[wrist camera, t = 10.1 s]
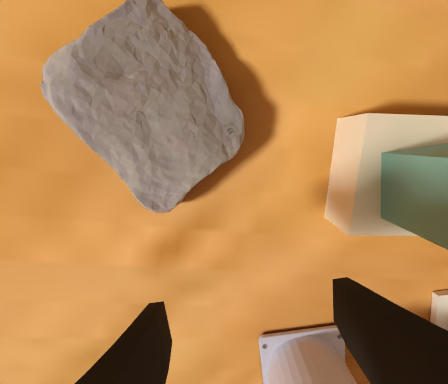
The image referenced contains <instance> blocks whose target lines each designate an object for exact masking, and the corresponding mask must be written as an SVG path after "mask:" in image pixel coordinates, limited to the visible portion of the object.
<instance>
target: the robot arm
mask: <svg viewBox="0 0 448 384" xmlns="http://www.w3.org/2000/svg"><path fill="white" fill-rule="evenodd" d="M333 311H334V322H335V324H336V325H332V326H324V327H317V328H309V329H302V330H294V331H287V332H279V333H271V334H264V335H261V336H260V337H259V347H260V356H261V365H262V374H263V383H264V384H357V383H356V381H355V379H354V378H353V376H352V374H351V372H350V371H349V369H348V367H347V365H346V364H345V344H346V346H347V347H348V349H349V350H350V352H351V354H352V355H353V357H354V358H355V360H356V361H357V363H358V365H359V366H360V368H361V369H362V371H363V372H364V374H365V375H366V377H367V378H368V380H369V381H370V383H371V384H448V330H446V329H444V328H441V327H439V326H437V325H435V324H433V323H431V322H429V321H427V320H425V319H423V318H421V317H419V316H417V315H415V314H413V313H411V312H410V311H408V310H406V309H404V308H402V307H400V306H398V305H396V304H395V303H393V302H391V301H389V300H387V299H386V298H384V297H382V296H380V295H378V294H377V293H375V292H373V291H371V290H370V289H368V288H366V287H364V286H362V285H361V284H359V283H357V282H355V281H353V280H351V279H349V278H347V277H346V278H339V279H333ZM339 334H340V335H339ZM264 344H266V345H264ZM171 347H172V338H171V334H170V329H169V324H168V320H167V315H166V310H165V306H164V301H163V302H156V303H149V304H148V305H147V306H146V308H145V309H144V310H143V311H142V312H141V313H140V315H139V316H138V317H137V318H136V319H135V320H134V322H133V323H132V324H131V325H130V326H129V327H128V328H127V330H126V331H125V332H124V333H123V334H122V335H121V336H120V338H119V339H118V340H117V341H116V342H115V343H114V344H113V345H112V346H111V347H110V348H109V350H108V351H107V352H106V353H105V354H104V355H103V356H102V357H101V358H100V359H99V360H98V361H97V362H96V363H95V364H94V365H93V366H92V367H91V368H90V369H89V370H88V371H87V372H86V373H85V374H84V375H83V376H82V377H81V378H80V379H79V380H78V381H77V382H76V383H75V384H165V383H166V378H167V374H168V370H169V363H170V356H171Z"/></svg>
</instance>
